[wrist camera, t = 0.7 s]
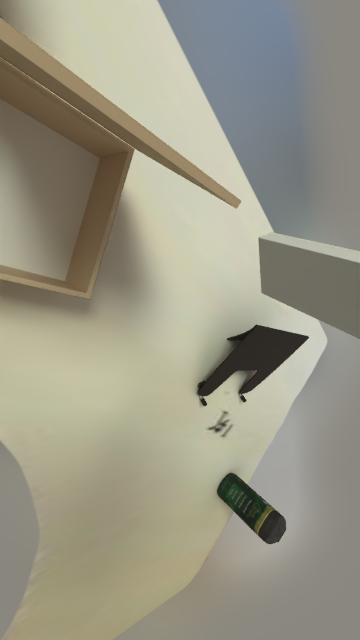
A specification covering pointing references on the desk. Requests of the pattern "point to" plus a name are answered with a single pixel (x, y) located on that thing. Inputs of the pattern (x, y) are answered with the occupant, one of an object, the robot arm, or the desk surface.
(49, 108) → the box
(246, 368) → the portable electronic device stand
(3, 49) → the mailer lid
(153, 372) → the desk surface
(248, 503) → the coffee jar
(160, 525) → the desk surface
